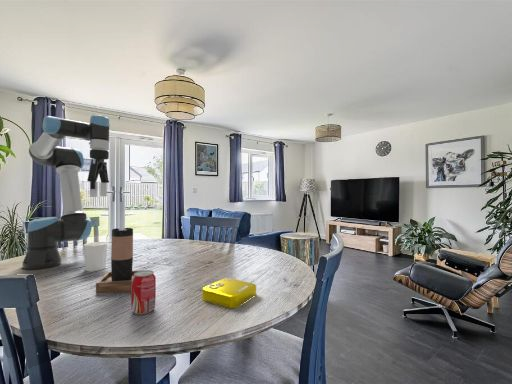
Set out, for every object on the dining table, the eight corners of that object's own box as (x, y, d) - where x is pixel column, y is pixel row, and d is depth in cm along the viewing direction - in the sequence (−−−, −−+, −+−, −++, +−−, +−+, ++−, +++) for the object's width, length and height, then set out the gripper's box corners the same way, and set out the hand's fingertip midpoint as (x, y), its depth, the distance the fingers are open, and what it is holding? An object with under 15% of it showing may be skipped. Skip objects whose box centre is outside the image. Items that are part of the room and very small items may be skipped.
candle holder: (78, 270, 127) (78, 244, 127) (97, 265, 136) (97, 241, 136) (92, 272, 123) (93, 246, 123) (111, 267, 132) (112, 242, 132)
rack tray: (107, 281, 112) (107, 271, 112) (143, 279, 115) (143, 270, 115) (95, 294, 98) (96, 283, 98) (137, 291, 101) (137, 280, 101)
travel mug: (123, 283, 102) (124, 230, 102) (106, 282, 104) (107, 229, 104) (136, 277, 110) (137, 228, 110) (120, 276, 111) (120, 227, 111)
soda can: (135, 306, 88) (136, 269, 88) (157, 306, 89) (158, 269, 89) (127, 316, 81) (127, 276, 81) (151, 315, 82) (152, 276, 82)
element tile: (234, 310, 87) (234, 296, 87) (199, 300, 95) (199, 286, 95) (258, 295, 100) (258, 282, 100) (225, 287, 108) (226, 275, 108)
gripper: (99, 153, 135) (98, 196, 135) (79, 145, 110) (78, 197, 110) (115, 154, 136) (115, 196, 136) (99, 146, 112) (98, 197, 112)
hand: (98, 196), depth 123 cm, fingers open, 13 cm apart
